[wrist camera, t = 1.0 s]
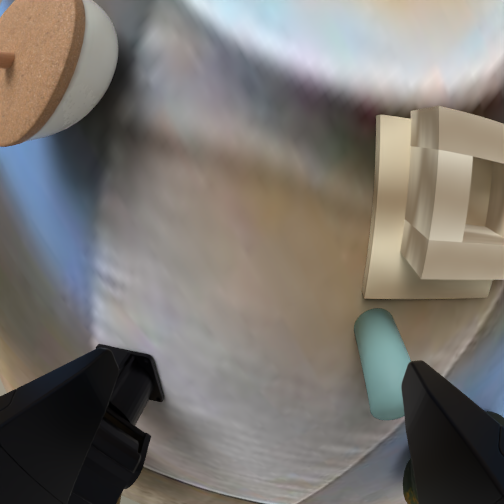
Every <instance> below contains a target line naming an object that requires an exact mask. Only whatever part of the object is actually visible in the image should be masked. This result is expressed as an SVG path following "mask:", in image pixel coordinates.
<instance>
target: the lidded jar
mask: <svg viewBox="0 0 504 504" xmlns="http://www.w3.org/2000/svg"><path fill="white" fill-rule="evenodd" d="M117 61H118V39H117V34H116V30H115V28H114V25H113V23H112V21H111V19H110V18H109V16H108V15H107V14H106V12H105V11H104V10H103V9H102V8H101V7H100V6H99V5H97V4H96V3H95V2H93V1H92V0H15V1H14V2H13V3H12V4H11V5H10V6H9V8H8V9H7V10H6V11H5V12H4V14H3V15H2V16H1V18H0V146H1V147H7V146H12V145H16V144H20V143H23V142H25V141H30V140H35V139H40V138H44V137H47V136H50V135H53V134H56V133H58V132H60V131H62V130H65V129H67V128H69V127H71V126H72V125H74V124H75V123H77V122H78V121H80V120H81V119H82V118H84V117H85V116H86V115H87V114H88V113H89V112H90V111H91V110H92V109H93V108H94V107H95V106H96V105H97V104H98V102H99V101H100V100H101V98H102V97H103V96H104V94H105V92H106V90H107V89H108V87H109V85H110V83H111V80H112V78H113V75H114V72H115V69H116V65H117Z"/></svg>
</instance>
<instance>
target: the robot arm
mask: <svg viewBox="0 0 504 504" xmlns="http://www.w3.org/2000/svg"><path fill="white" fill-rule="evenodd" d="M401 389H402V397H403V406H404V415H405V425H406V433H407V439H408V444H409V449H410V454H411V459H412V465H413V471H414V477H415V483H416V490H417V497H418V504H504V427H503V426H500V424H499V423H498V422H497V421H496V420H495V419H493V418H492V417H491V416H490V415H489V414H487V413H486V412H485V411H484V410H483V409H481V408H480V407H479V406H478V405H477V404H475V403H474V402H473V401H472V400H471V399H469V398H468V397H467V396H466V395H465V394H463V393H462V392H461V391H460V390H458V389H457V388H456V387H455V386H454V385H452V384H451V383H450V382H449V381H447V380H446V379H445V378H444V377H443V376H441V375H440V374H439V373H438V372H436V371H435V370H434V369H433V368H431V367H430V366H429V365H428V364H426V363H425V362H424V361H421V360H420V361H411V362H410V363H409V364H408V366H407V369H406V372H405V375H404V378H403V380H402V386H401ZM163 399H164V396H163V392H162V389H161V386H160V383H159V379H158V376H157V372H156V369H155V365H154V362H153V359H152V357H151V356H150V355H148V354H143V353H138V352H133V351H128V350H124V349H119V348H114V347H110V346H106V345H101V344H98V345H97V347H96V349H95V350H93V351H91V352H89V353H87V354H85V355H83V356H81V357H79V358H77V359H75V360H73V361H71V362H69V363H67V364H65V365H63V366H61V367H59V368H57V369H55V370H53V371H51V372H49V373H47V374H45V375H43V376H41V377H39V378H37V379H35V380H33V381H31V382H29V383H27V384H25V385H23V386H21V387H19V388H17V389H15V390H13V391H11V392H9V393H7V394H4V395H3V396H0V504H116V503H117V501H118V499H119V497H120V495H121V493H122V491H123V489H127V488H129V487H130V486H131V485H132V484H133V483H134V482H135V481H136V479H137V478H138V476H139V475H140V473H141V470H142V468H143V465H144V461H145V457H146V453H147V449H148V446H149V442H150V438H151V436H150V435H149V434H147V433H144V432H143V431H141V430H140V429H138V428H137V427H136V426H135V425H136V423H137V421H138V419H139V417H140V415H141V413H142V411H143V409H144V408H145V406H146V404H147V402H148V400H154V401H158V402H162V401H163Z"/></svg>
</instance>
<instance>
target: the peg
mask: <svg viewBox="0 0 504 504" xmlns="http://www.w3.org/2000/svg"><path fill="white" fill-rule="evenodd" d="M354 332H355V337H356V341H357V345H358V350H359V354H360V359H361V364H362V369H363V373H364V378H365V383H366V389H367V394H368V399H369V405H370V411H371V414H372V415H373V416H374V417H375V418H377V419H380V420H394V419H398V418H401V417H403V416H405V415H404V406H403V397H402V389H401V386H402V380H403V378H404V375H405V372H406V369H407V366H408V364H409V363H410V362H411V360H410V358H409V355H408V353H407V350H406V348H405V345H404V343H403V340H402V338H401V336H400V333H399V331H398V329H397V326H396V324H395V322H394V319H393V317H392V315H391V314H390V313H389V312H388V311H387V310H384V309H380V308H375V309H371V310H368V311H366V312H364V313H363V314H361V315H360V316H359V317H358V319H357V320H356V322H355V325H354Z"/></svg>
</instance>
